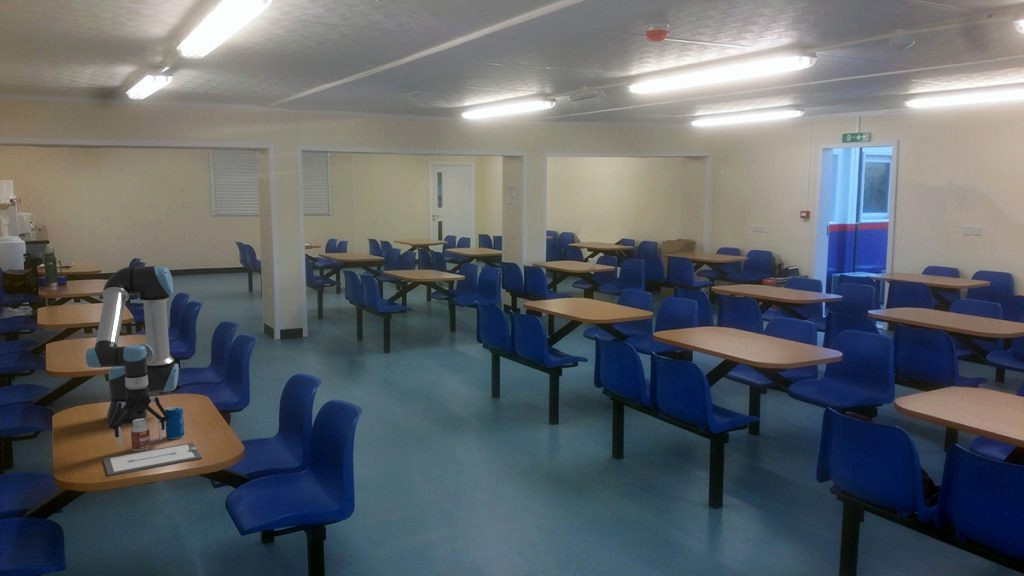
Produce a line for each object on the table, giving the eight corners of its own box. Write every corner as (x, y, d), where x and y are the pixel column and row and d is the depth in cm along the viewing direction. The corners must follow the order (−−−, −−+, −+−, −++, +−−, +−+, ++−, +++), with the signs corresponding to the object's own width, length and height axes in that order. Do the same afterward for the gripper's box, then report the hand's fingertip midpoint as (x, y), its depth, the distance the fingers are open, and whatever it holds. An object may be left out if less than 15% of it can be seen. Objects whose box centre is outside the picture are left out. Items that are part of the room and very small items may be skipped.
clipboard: (103, 459, 265) (102, 456, 265) (192, 444, 282) (192, 440, 281) (108, 476, 250) (107, 472, 250) (201, 458, 267) (201, 455, 267)
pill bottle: (141, 452, 273) (139, 423, 271) (128, 450, 274) (126, 422, 273) (154, 447, 278) (152, 418, 277) (141, 445, 280) (139, 417, 279)
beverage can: (177, 440, 286) (175, 410, 284) (162, 439, 287) (161, 409, 285) (188, 435, 292) (186, 405, 290) (173, 433, 293) (171, 404, 291)
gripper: (99, 394, 263) (104, 451, 266) (175, 384, 277) (178, 438, 280) (97, 389, 269) (102, 445, 272) (171, 379, 283) (175, 432, 286)
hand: (140, 441), depth 276 cm, fingers open, 13 cm apart
